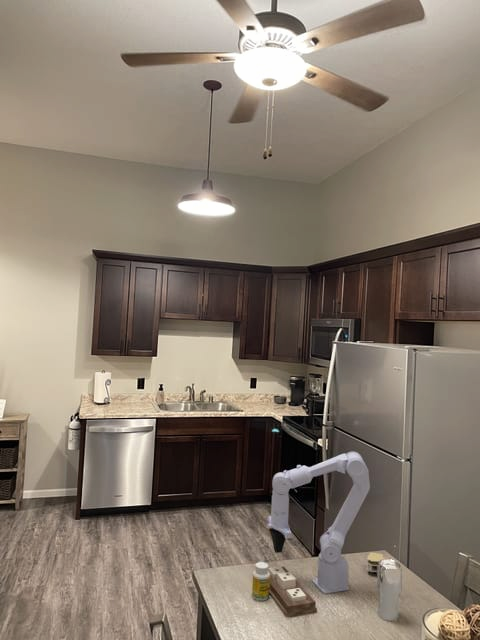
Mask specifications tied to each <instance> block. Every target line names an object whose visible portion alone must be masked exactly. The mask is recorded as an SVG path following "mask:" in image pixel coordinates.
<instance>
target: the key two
mask: <svg viewBox="0 0 480 640" xmlns="http://www.w3.org/2000/svg"><path fill="white" fill-rule="evenodd" d="M296 580H297V578H296V577H295V576H294V575H293V574H292V573H291V572H290V571H289V572H287V573H279V574H277V584H278V586H279V587H280V588H281V589H282V590H286V589H292V588H295V586H296Z"/></svg>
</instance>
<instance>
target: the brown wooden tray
mask: <svg viewBox="0 0 480 640" xmlns="http://www.w3.org/2000/svg"><path fill="white" fill-rule="evenodd" d="M281 568H282V569H283V570H284V571H285V572H286V573H287V572H290V571H289V570H288V569H287V568H286V566H281ZM296 588H300V589H301V590H302V591H303V593H304V594H305V595H306V600H305V601H299V602H291V600H290V599H289V598H288V597H287V595H286V590H289V589H286V590H282V589H281V588H280V587H279V586H278V584H277V578H274V579H273V578H272V577H271V576H270V589H269V597H270V598H271V599H272V600H273V601H274V604H276V606H277V607H278V608H279V610H280V611H281V612H282V613H283V615H284V616H285V618H288V617H289V618H290V617H295V616H302V615H307V614H314V613H318V608H317V606H316V604H317V603H316V600H315V599H314V598H313V597H312V596H311V595H310V594H309V592H308V591H307V590H306V589H305V588H304V587H303V585H301V584H300V582H299V581H298V580H297V579H296V586H295V588H292V589H296Z"/></svg>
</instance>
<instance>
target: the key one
mask: <svg viewBox="0 0 480 640" xmlns="http://www.w3.org/2000/svg"><path fill="white" fill-rule="evenodd" d="M281 567H282V566H281V565H279V566H278V565H277V566H271V567H268V571H269V573H270V576H271V577H272V578H273V579H274V578H277V574H279V573H286V572H285V571H284V570H283V569H282V568H281Z"/></svg>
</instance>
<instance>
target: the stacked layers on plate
mask: <svg viewBox="0 0 480 640" xmlns="http://www.w3.org/2000/svg"><path fill="white" fill-rule="evenodd" d="M366 558H367V560H366V563H367V566H366V571H370V572H371V573H376V576H377V575H378V565H379V560H381V559H385V558H384V555H383V554H382V553H376V552H370V553H369V554H368V555H367V557H366Z"/></svg>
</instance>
